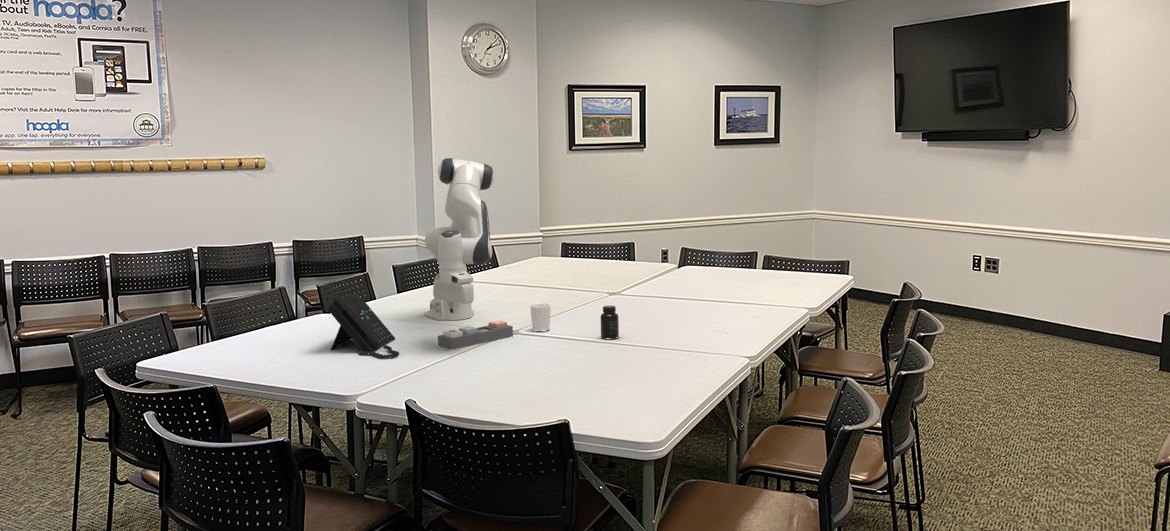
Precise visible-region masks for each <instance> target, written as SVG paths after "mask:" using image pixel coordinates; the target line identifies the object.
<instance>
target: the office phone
mask: <svg viewBox="0 0 1170 531" xmlns="http://www.w3.org/2000/svg"><path fill="white" fill-rule="evenodd" d="M327 311H328V312H329V313H330V314H331V316H332V317H333V318H334V319H335V320H336V322H337V323H338V324H339V325H340V326H339V328H338V330H337V332H336V336H335V338H334V340H333V343H332V346H331V348H330V351H332V350H334V349H336V348H337V347H340V346H341V344H342V345H343V343H344V344H345V343H347V342H349V341H351V340H353V342H354V343H355V344H356V346H357V348H356V352H357V353H358V354H359V356H366V355H367V356H369V355H373V356H372V357H375V356H376V357H375V358H378V359H381V358H383V359H384V358H387V359H388V358H389V359H395V358H394V357H396V356H398V355H399V356H400V351H398V350H394V349H393V348H392V347H391V346H390V345H387V343H388V344H389V343H391V342H393V341H394V339H395V338H396V337H395V336H394V335H393V334H392V332H391V331H390V330H389V329H388V327H387V326H386V325H385V324H384V323H383V322H382V320H381V319H380V318H379V316H377V315H376V313H375V312H374V311H373V310H372V309H371V307H370V306H369V305H368V304H367V302H366V301H365V300H364V299H363V298H362V296H360V294H359V293H358V292H357V293H355V294H352V295H349V296H346V297H344V296H342V295H335V296H334V297H333V299H332V302H331V304H330V305H329V307H328V308H327ZM350 339H351V340H350ZM392 340H393V341H392ZM395 340H396V339H395ZM390 341H391V342H390ZM385 344H386V345H385ZM339 345H340V346H339ZM380 347H381V348H382V349H384V350H387V352H388V353H389V354H382V353H379V352H376V351H377V349H378V350H380V349H381V348H380ZM358 348H359V349H360V350H359V349H358ZM390 353H392V354H390ZM399 356H398V357H399ZM396 358H397V357H396Z"/></svg>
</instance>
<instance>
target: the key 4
mask: <svg viewBox="0 0 1170 531" xmlns="http://www.w3.org/2000/svg"><path fill="white" fill-rule="evenodd" d="M488 325H489V327H492V328H496V329H498V328H503V327H507V325H508V322H507V321H503V320H495V321H490V322H489V321H488Z"/></svg>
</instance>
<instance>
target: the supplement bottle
mask: <svg viewBox="0 0 1170 531" xmlns="http://www.w3.org/2000/svg"><path fill="white" fill-rule="evenodd" d="M616 311H617V310H616V306H615V305H604V306H602V313H601V314H600V337H603V338H616V337H618V338H619V336H620V335H619V334H620V330H619V326H620V325H619V324H620V323H619V321H620V320H619V314H618V313H617V312H616ZM603 338H602V339H603ZM616 339H617V338H616Z"/></svg>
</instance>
